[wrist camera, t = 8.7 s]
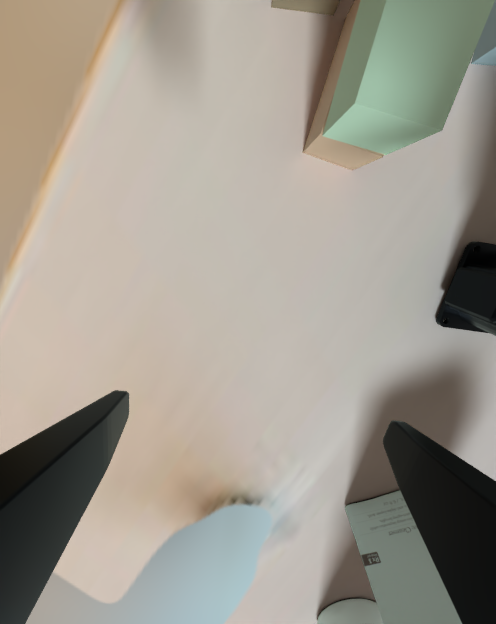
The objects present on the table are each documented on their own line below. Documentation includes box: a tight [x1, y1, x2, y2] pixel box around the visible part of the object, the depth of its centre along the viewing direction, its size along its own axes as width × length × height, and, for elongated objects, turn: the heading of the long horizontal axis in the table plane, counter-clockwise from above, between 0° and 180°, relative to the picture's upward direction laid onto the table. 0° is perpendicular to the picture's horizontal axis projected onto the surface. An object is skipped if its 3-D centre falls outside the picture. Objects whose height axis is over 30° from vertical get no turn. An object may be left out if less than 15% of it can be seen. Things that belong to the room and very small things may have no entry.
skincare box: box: [345, 490, 462, 624], centre depth 21 cm, size 8×6×15 cm
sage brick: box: [322, 0, 495, 155], centre depth 10 cm, size 7×4×4 cm, turn 167°
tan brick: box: [303, 0, 384, 170], centre depth 14 cm, size 7×4×4 cm, turn 163°
